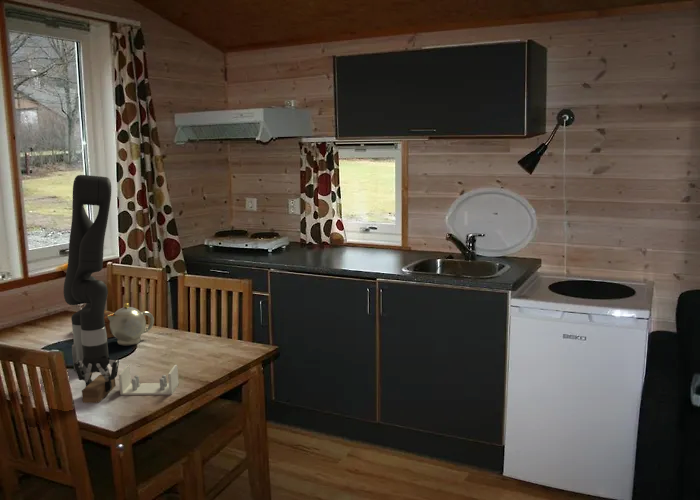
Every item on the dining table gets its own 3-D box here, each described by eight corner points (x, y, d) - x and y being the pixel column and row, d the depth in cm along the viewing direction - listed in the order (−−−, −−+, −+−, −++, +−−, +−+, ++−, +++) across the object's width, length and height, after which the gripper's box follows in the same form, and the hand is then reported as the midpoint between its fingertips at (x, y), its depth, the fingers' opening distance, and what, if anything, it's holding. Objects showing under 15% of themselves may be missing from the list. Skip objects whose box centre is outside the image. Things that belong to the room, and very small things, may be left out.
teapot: (115, 351, 245) (112, 310, 242) (105, 342, 256) (101, 302, 252) (161, 341, 256) (158, 302, 252) (149, 333, 266) (146, 295, 263)
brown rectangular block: (98, 402, 199) (97, 390, 198) (83, 402, 199) (81, 390, 199) (115, 385, 212) (114, 374, 211) (100, 385, 212) (99, 374, 211)
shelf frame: (120, 395, 205) (118, 374, 203) (128, 385, 212) (127, 365, 211) (172, 394, 205) (170, 373, 203) (178, 384, 212) (177, 364, 211)
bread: (123, 335, 264) (121, 312, 262) (97, 341, 257) (95, 317, 255) (103, 326, 277) (101, 303, 275) (78, 331, 270) (76, 309, 268)
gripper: (121, 337, 206) (125, 386, 209) (76, 337, 206) (81, 387, 209) (112, 344, 198) (117, 396, 202) (66, 345, 198) (72, 396, 202)
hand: (99, 391), depth 205 cm, fingers closed on brown rectangular block, 5 cm apart
